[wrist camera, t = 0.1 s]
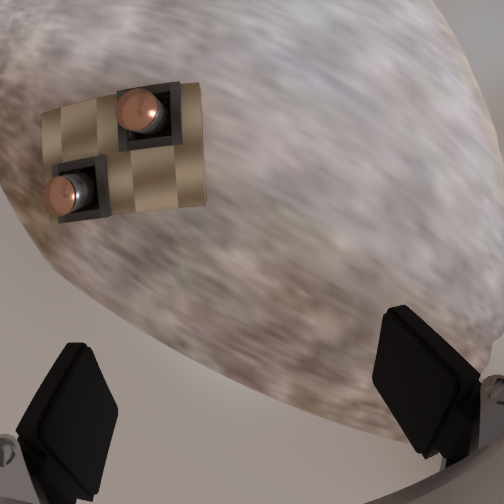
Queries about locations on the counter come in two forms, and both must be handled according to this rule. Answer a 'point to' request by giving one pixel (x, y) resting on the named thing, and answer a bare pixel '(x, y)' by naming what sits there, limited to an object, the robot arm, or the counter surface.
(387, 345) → the robot arm
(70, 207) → the peg
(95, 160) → the maple block
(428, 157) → the counter surface
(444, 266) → the counter surface
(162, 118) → the peg
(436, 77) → the counter surface
